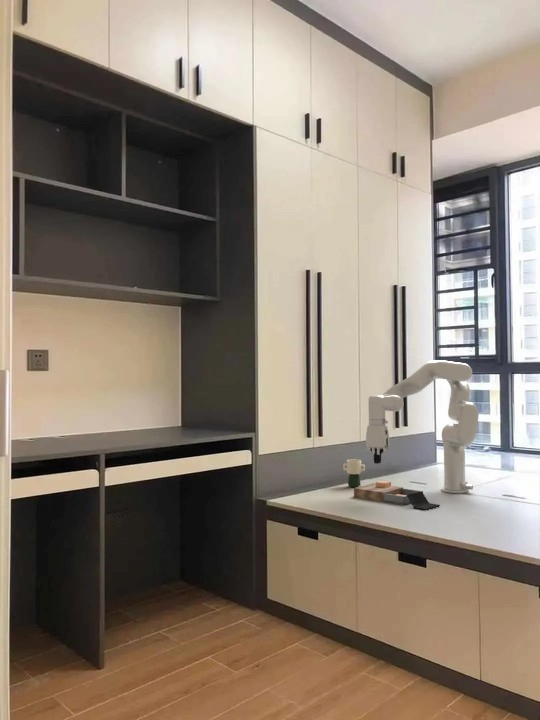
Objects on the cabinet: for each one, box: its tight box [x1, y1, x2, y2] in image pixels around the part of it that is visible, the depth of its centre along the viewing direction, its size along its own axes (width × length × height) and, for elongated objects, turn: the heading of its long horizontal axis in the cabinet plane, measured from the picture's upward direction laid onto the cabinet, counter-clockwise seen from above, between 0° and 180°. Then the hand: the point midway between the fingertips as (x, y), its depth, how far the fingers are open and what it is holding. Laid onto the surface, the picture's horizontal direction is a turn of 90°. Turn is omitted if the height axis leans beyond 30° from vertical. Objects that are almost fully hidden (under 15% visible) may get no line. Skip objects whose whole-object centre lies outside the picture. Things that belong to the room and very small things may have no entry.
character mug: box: [342, 458, 366, 488], centre depth 305 cm, size 11×7×13 cm, turn 71°
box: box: [383, 487, 424, 506], centre depth 272 cm, size 10×16×4 cm, turn 137°
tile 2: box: [375, 480, 392, 488], centre depth 284 cm, size 5×5×2 cm
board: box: [353, 482, 404, 502], centre depth 281 cm, size 16×16×4 cm
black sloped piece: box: [407, 490, 441, 511], centre depth 259 cm, size 12×7×10 cm
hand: (377, 463), depth 282 cm, fingers closed
